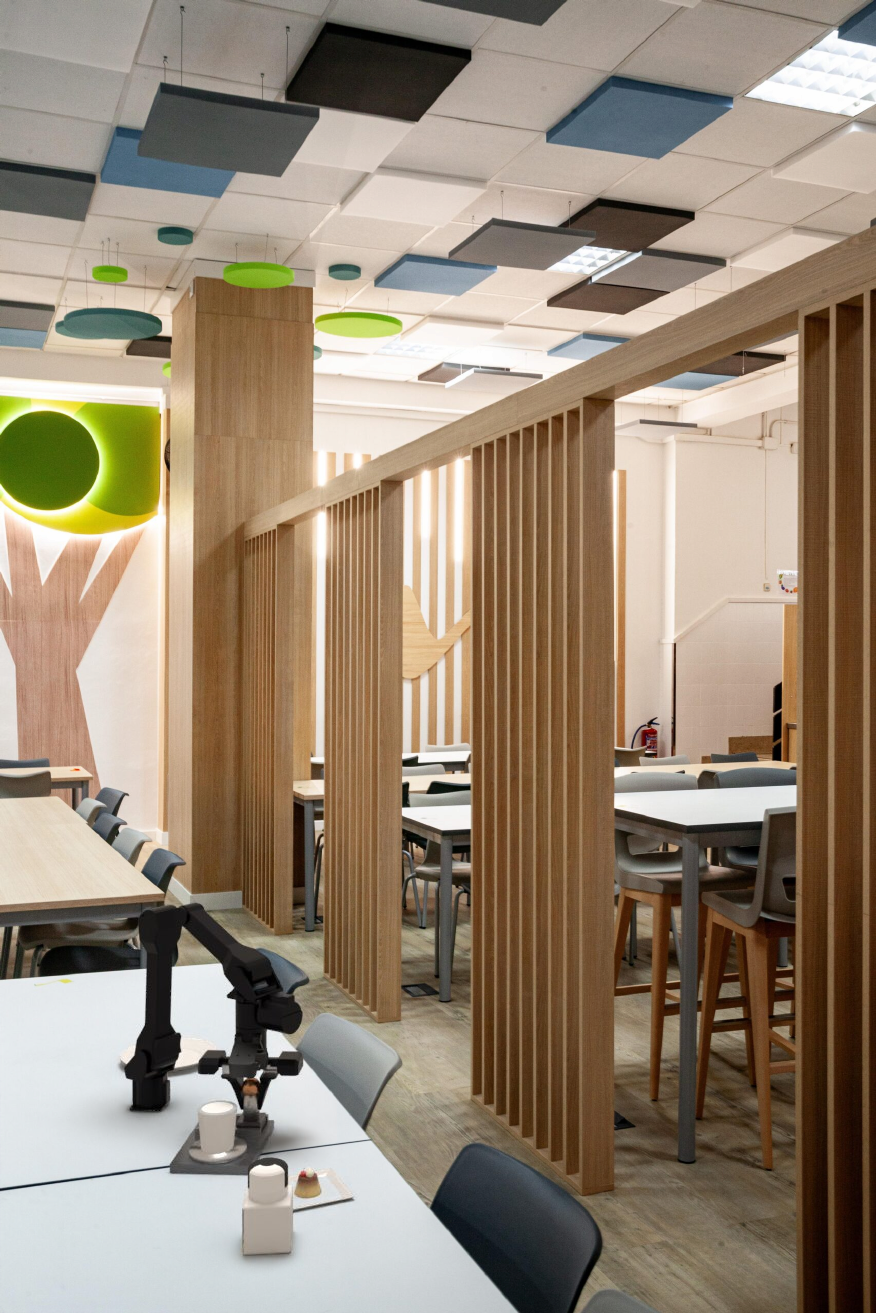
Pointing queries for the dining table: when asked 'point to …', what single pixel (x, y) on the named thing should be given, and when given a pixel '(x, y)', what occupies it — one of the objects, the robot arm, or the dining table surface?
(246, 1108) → the press lever
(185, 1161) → the base
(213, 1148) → the white cup
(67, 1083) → the dining table surface
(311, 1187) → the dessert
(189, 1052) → the plate
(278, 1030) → the robot arm
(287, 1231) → the medicine bottle
